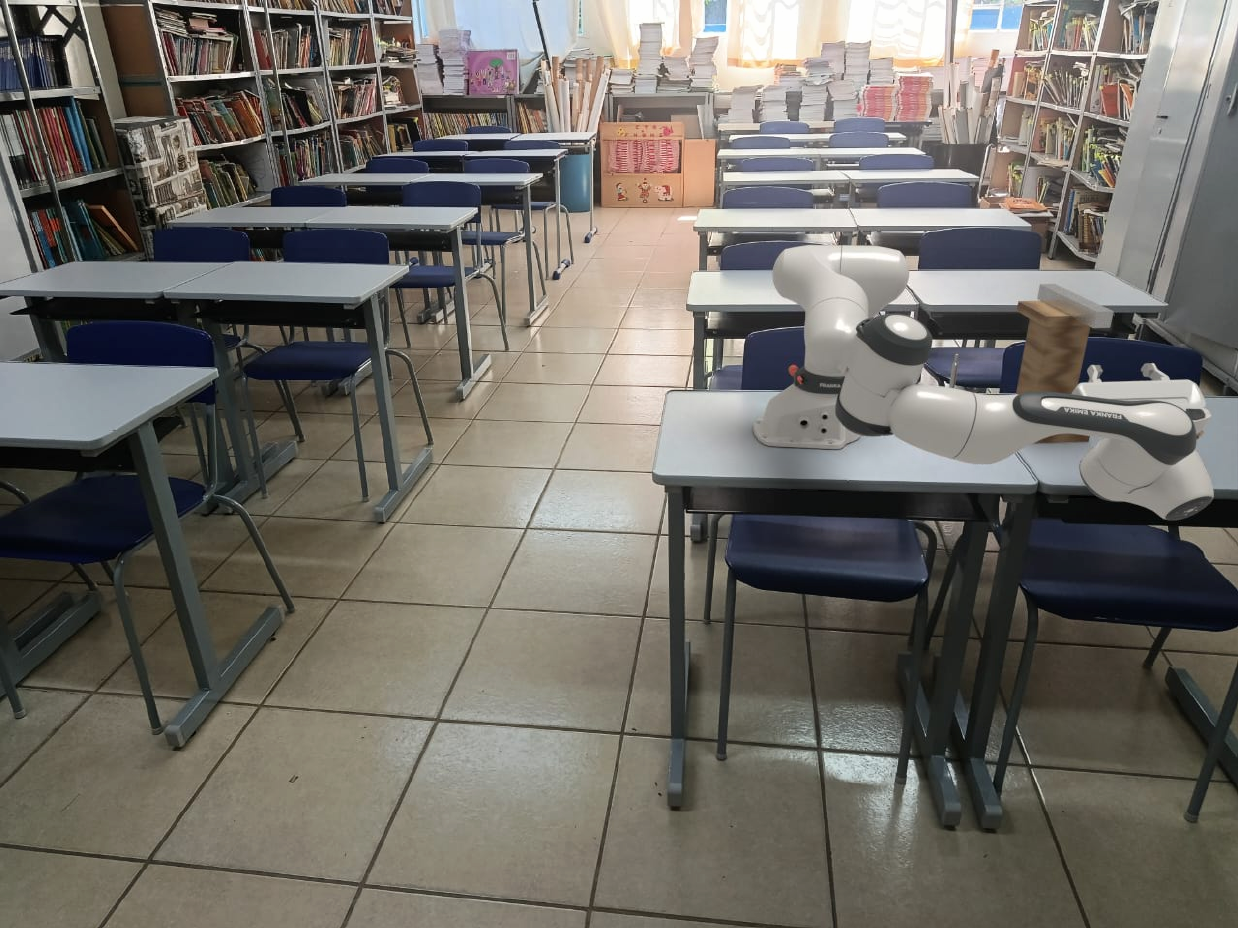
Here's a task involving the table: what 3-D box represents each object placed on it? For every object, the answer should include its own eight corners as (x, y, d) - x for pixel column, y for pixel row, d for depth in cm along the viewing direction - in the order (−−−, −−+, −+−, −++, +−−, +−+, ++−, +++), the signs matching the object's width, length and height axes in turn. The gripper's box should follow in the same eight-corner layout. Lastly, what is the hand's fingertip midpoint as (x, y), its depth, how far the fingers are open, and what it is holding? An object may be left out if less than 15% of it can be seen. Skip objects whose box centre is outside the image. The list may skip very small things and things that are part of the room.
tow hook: (938, 396, 194) (927, 407, 187) (947, 343, 189) (936, 352, 182) (976, 403, 190) (966, 414, 183) (986, 348, 185) (976, 357, 178)
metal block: (1093, 328, 150) (1097, 311, 149) (1037, 298, 170) (1039, 284, 169) (1110, 327, 150) (1113, 311, 149) (1051, 298, 170) (1054, 283, 169)
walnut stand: (1019, 443, 168) (1043, 318, 157) (990, 418, 180) (1011, 300, 169) (1088, 441, 168) (1117, 316, 157) (1055, 416, 180) (1079, 298, 169)
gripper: (1079, 442, 140) (1053, 380, 148) (1200, 438, 140) (1168, 376, 147) (1096, 419, 134) (1068, 356, 142) (1222, 415, 134) (1187, 352, 142)
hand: (1119, 366), depth 145 cm, fingers open, 8 cm apart
